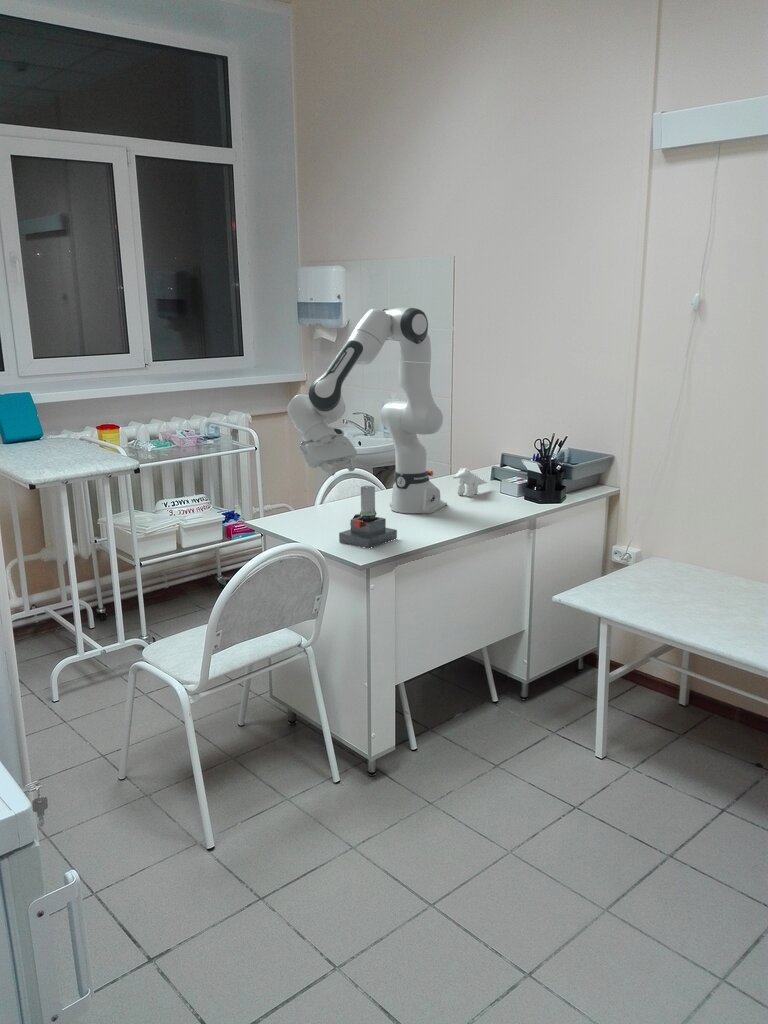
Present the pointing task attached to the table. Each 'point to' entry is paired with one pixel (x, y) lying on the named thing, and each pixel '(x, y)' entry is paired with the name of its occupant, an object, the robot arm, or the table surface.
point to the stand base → (367, 533)
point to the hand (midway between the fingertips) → (343, 472)
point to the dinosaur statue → (468, 482)
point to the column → (368, 503)
